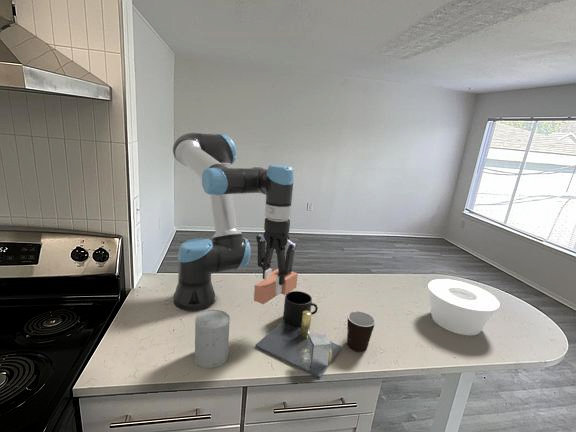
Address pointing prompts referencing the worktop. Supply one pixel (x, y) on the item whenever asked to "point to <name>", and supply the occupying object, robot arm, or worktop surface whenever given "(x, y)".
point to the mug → (297, 307)
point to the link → (273, 287)
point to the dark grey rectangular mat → (293, 348)
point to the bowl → (461, 306)
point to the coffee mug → (359, 330)
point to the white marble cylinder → (211, 338)
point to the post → (305, 324)
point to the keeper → (320, 349)
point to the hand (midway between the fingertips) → (272, 291)
